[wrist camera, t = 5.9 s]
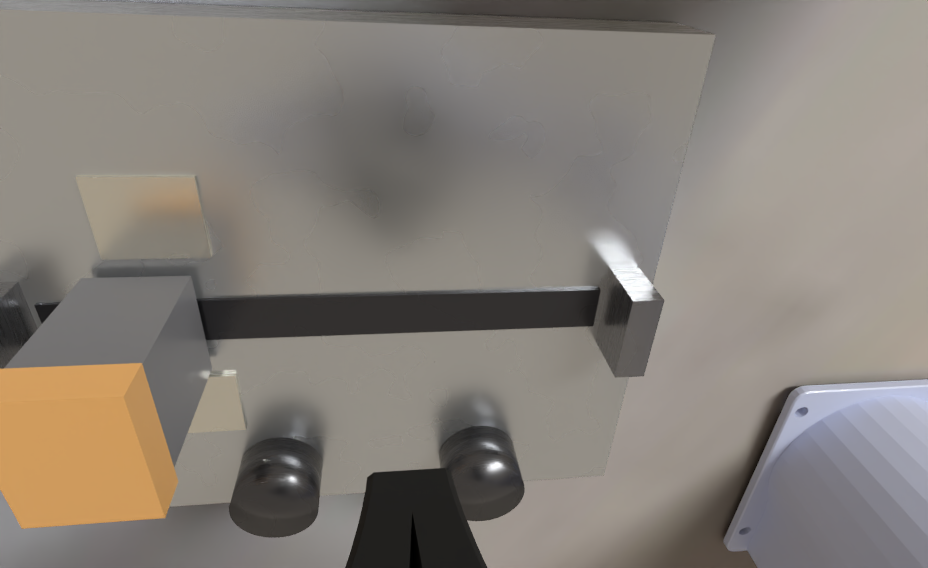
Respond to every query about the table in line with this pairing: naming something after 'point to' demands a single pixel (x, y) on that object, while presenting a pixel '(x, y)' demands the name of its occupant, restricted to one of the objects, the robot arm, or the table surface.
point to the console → (357, 227)
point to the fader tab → (102, 403)
